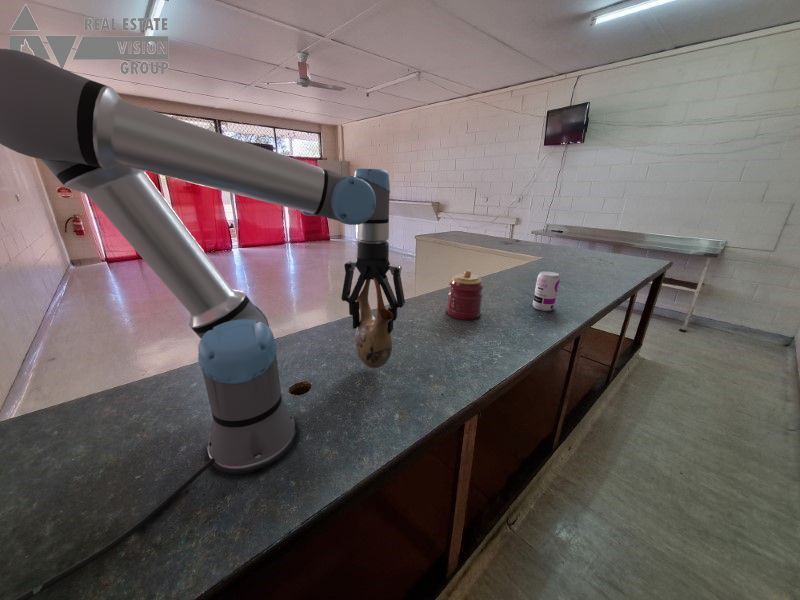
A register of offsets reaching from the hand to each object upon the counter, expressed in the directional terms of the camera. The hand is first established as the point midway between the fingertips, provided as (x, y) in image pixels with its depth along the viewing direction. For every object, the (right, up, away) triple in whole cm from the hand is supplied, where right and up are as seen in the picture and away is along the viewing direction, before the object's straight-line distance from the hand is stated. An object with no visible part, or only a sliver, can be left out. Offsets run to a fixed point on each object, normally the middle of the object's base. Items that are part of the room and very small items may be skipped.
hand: (373, 328), depth 81 cm
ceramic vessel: (0, -10, +4) cm, 11 cm away
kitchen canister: (+32, +2, +43) cm, 54 cm away
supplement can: (+67, +4, +52) cm, 85 cm away
